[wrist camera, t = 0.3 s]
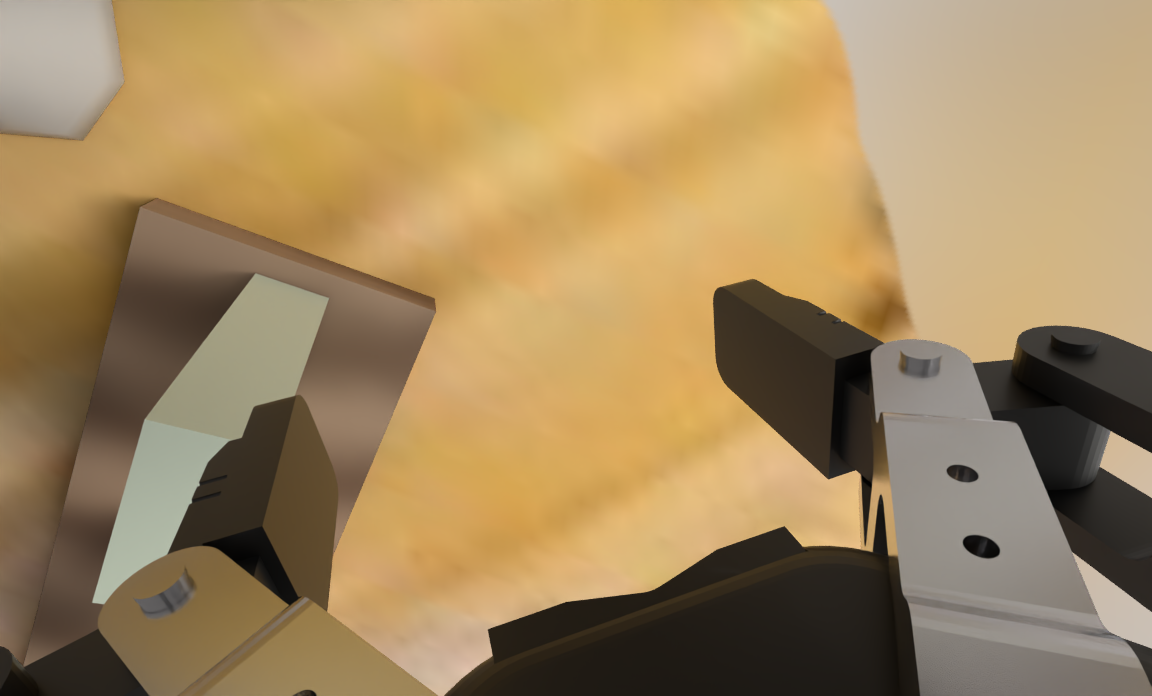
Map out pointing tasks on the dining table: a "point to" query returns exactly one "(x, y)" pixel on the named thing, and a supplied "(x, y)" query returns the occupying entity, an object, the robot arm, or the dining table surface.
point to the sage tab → (208, 416)
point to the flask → (57, 66)
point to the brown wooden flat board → (169, 340)
